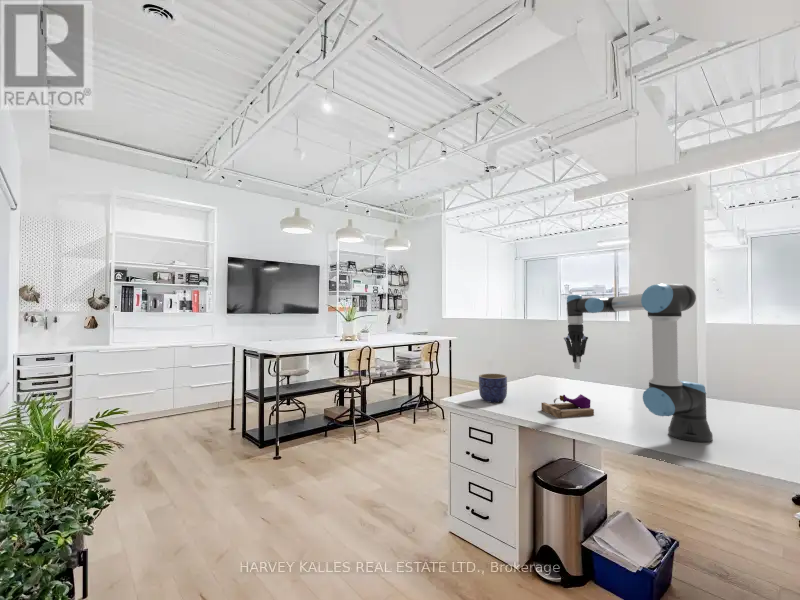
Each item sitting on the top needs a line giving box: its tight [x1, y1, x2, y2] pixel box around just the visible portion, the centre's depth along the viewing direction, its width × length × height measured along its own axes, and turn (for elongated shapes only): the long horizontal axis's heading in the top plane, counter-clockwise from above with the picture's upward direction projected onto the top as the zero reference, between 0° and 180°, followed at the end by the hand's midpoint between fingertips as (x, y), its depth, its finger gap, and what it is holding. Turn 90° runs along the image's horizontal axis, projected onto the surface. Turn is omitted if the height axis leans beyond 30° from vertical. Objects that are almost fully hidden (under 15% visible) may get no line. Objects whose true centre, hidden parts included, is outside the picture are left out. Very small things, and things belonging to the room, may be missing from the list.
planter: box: [478, 373, 508, 404], centre depth 235 cm, size 17×16×15 cm
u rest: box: [541, 402, 595, 419], centre depth 206 cm, size 15×20×4 cm
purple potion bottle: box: [553, 394, 591, 409], centre depth 209 cm, size 8×8×18 cm
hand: (577, 368), depth 207 cm, fingers closed
